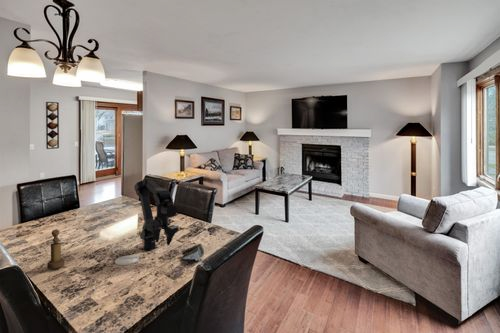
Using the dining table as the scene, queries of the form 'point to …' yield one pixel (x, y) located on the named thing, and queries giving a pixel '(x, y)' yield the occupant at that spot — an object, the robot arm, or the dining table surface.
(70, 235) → the dining table surface
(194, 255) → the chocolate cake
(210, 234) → the dining table surface
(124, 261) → the white round plate
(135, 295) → the dining table surface
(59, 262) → the wooden chess pawn
